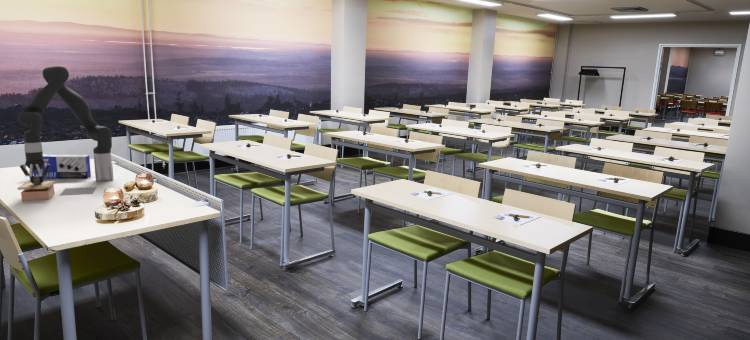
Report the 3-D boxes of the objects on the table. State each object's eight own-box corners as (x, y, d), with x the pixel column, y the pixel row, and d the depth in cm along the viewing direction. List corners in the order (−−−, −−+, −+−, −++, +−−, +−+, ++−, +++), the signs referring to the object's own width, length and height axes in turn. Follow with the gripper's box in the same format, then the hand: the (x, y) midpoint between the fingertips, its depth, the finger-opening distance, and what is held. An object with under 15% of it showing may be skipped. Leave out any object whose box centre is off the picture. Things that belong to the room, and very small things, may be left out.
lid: (56, 183, 273) (55, 172, 271) (49, 189, 260) (48, 178, 258) (25, 185, 268) (24, 174, 266) (17, 191, 255) (16, 179, 254)
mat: (97, 187, 289) (97, 186, 289) (92, 194, 274) (92, 193, 274) (65, 189, 284) (65, 188, 283) (59, 196, 269) (58, 195, 269)
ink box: (33, 179, 305) (30, 156, 302) (38, 177, 312) (36, 154, 309) (87, 179, 310) (85, 156, 308) (91, 176, 317) (89, 154, 314)
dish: (54, 194, 272) (53, 185, 271) (49, 200, 261) (48, 191, 260) (28, 195, 268) (27, 186, 267) (22, 201, 257) (20, 192, 256)
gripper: (51, 149, 266) (54, 180, 269) (19, 149, 261) (23, 182, 264) (47, 151, 259) (51, 184, 262) (15, 152, 254) (19, 185, 257)
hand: (37, 183), depth 263 cm, fingers closed on lid, 3 cm apart
